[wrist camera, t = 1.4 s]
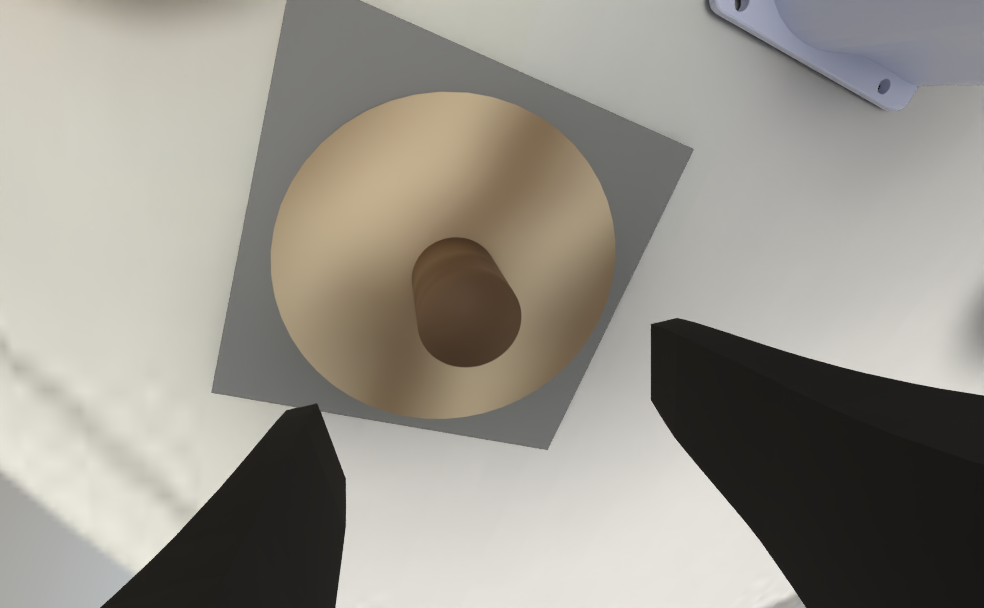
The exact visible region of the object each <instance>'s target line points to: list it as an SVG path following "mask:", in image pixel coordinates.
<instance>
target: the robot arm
mask: <svg viewBox="0 0 984 608" xmlns="http://www.w3.org/2000/svg"><path fill="white" fill-rule="evenodd" d="M709 1H710V7H711V9H712V11H713V12H714V13H716V14H717V15H719V16H721V17H722V18H724V19H726V20H728V21H729V22H731V23H733V24H735V25H736V26H738V27H740V28H742V29H743V30H745V31H747V32H749V33H750V34H752V35H754V36H756V37H757V38H759V39H761V40H763V41H764V42H766V43H768V44H770V45H772V46H773V47H775V48H777V49H779V50H780V51H782V52H784V53H786V54H787V55H789V56H791V57H793V58H794V59H796V60H798V61H800V62H801V63H803V64H805V65H807V66H808V67H810V68H812V69H814V70H815V71H817V72H819V73H821V74H822V75H824V76H826V77H828V78H829V79H831V80H833V81H835V82H836V83H838V84H840V85H842V86H843V87H845V88H847V89H849V90H850V91H852V92H854V93H856V94H857V95H859V96H861V97H863V98H864V99H866V100H868V101H870V102H871V103H873V104H875V105H877V106H878V107H880V108H882V109H884V110H887V111H899V110H901V109H903V108H904V107H905V106H906V105H907V104H908V103H909V101H910V100H911V98H912V96H913V95H914V93H915V91H916V90H917V88H918V87H919V86H929V85H984V0H741V6H740V8H739V10H738V11H737V10H736V9H735V5H734V3H735V0H709ZM879 84H880V88H879V90H878V86H879ZM651 401H652V402H653V404H654V406H655V407H656V409H657V411H658V412H659V414H660V416H661V417H662V419H663V421H664V422H665V424H666V425H667V427H668V428H669V430H670V431H671V433H672V434H673V436H674V437H675V439H676V440H677V441H678V442H679V443H680V445H681V446H682V447H683V448H684V450H685V451H686V452H687V453H688V454H689V456H690V457H691V458H692V459H693V460H694V462H695V463H696V464H697V465H698V466H699V468H700V469H701V470H702V471H703V472H704V474H705V475H706V476H707V477H708V478H709V479H710V481H711V482H712V483H713V484H714V485H715V487H716V488H717V489H718V490H719V491H720V492H721V494H722V495H723V496H724V497H725V498H726V500H727V501H728V502H729V503H730V504H731V505H732V507H733V508H734V509H735V510H736V511H737V513H738V514H739V515H740V516H741V517H742V518H743V520H744V521H745V522H746V523H747V525H748V526H749V527H750V528H751V530H752V531H753V532H754V534H755V535H756V536H757V537H758V539H759V540H760V541H761V543H762V544H763V545H764V547H765V548H766V550H767V551H768V553H769V554H770V555H771V557H772V558H773V560H774V561H775V563H776V564H777V565H778V567H779V568H780V570H781V571H782V573H783V574H784V576H785V577H786V578H787V580H788V581H789V583H790V584H791V586H792V587H793V588H794V590H795V591H796V593H797V594H798V596H799V597H800V599H801V601H802V602H803V604H804V605H805V607H806V608H984V396H983V395H976V394H970V393H964V392H958V391H951V390H945V389H939V388H934V387H929V386H923V385H918V384H913V383H908V382H903V381H899V380H894V379H889V378H885V377H880V376H876V375H871V374H866V373H862V372H858V371H854V370H850V369H846V368H842V367H838V366H835V365H831V364H827V363H824V362H820V361H817V360H813V359H809V358H806V357H802V356H799V355H796V354H792V353H789V352H786V351H782V350H779V349H776V348H773V347H770V346H766V345H763V344H760V343H757V342H754V341H751V340H748V339H745V338H742V337H739V336H736V335H733V334H730V333H727V332H723V331H720V330H717V329H714V328H711V327H708V326H705V325H701V324H698V323H695V322H691V321H687V320H683V319H679V318H675V319H671V320H667V321H663V322H658V323H654V324H651ZM345 527H346V478H345V476H344V473H343V470H342V468H341V465H340V462H339V460H338V457H337V454H336V452H335V449H334V446H333V444H332V441H331V438H330V436H329V433H328V430H327V428H326V425H325V422H324V420H323V417H322V414H321V412H320V409H319V406H318V404H317V403H316V404H312V405H307V406H303V407H299V408H295V409H291V410H286V411H285V413H284V414H283V415H282V416H281V417H280V418H279V419H278V420H277V421H276V422H275V424H274V425H273V426H272V427H271V428H270V430H269V431H268V432H267V433H266V434H265V436H264V437H263V438H262V439H261V440H260V442H259V443H258V444H257V445H256V446H255V448H254V449H253V450H252V451H251V452H250V454H249V455H248V456H247V457H246V458H245V459H244V461H243V462H242V463H241V464H240V465H239V466H238V468H237V469H236V470H235V471H234V472H233V473H232V475H231V476H230V477H229V478H228V479H227V480H226V482H225V483H224V484H223V485H222V486H221V487H220V489H219V490H218V491H217V492H216V493H215V494H214V495H213V496H212V497H211V498H210V499H209V500H208V502H207V503H206V504H205V505H204V506H203V507H202V508H201V509H200V510H199V511H198V512H197V513H196V514H195V516H194V517H193V518H192V519H191V520H190V521H189V522H188V523H187V524H186V525H185V526H184V527H183V529H182V530H181V531H180V532H179V533H178V534H177V535H176V536H175V537H174V538H173V539H172V540H171V541H170V542H169V543H168V544H167V545H166V546H165V547H164V548H163V549H162V550H161V551H160V552H159V553H158V554H157V555H156V556H155V557H154V558H153V559H152V560H151V561H150V562H149V563H148V564H147V565H146V566H145V567H144V568H143V569H142V570H140V571H139V572H138V573H137V574H136V575H135V576H134V577H133V578H132V579H131V580H130V581H129V582H128V583H127V584H126V585H124V586H123V587H122V588H121V589H120V590H119V591H118V592H117V593H116V594H115V595H114V596H113V597H112V598H110V599H109V600H108V601H107V602H106V603H105V604H104V605H103V606H102V607H100V608H335V605H336V598H337V590H338V583H339V575H340V568H341V560H342V552H343V544H344V536H345Z"/></svg>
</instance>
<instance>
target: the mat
mask: <svg viewBox="0 0 984 608" xmlns="http://www.w3.org/2000/svg"><path fill="white" fill-rule="evenodd" d="M432 92H464V93H473V94H478V95H484V96H489V97H494V98H497V99H500V100H503V101H506V102H509V103H512V104H515V105H518V106H520V107H522V108H524V109H526V110H528V111H530V112H531V113H533V114H535V115H537V116H539V117H541V118H542V119H543V120H545V121H546V122H548V123H549V124H551V125H552V126H553V127H555V128H556V129H558V130H559V131H560V132H561V133H562V134H563V135H564V136H565V137H566V138H567V139H568V140H569V141H571V142H572V143H573V144H574V145H575V146H576V148H577V149H578V150H579V151H580V153H581V154H582V155H583V156H584V158H585V159H586V160H587V161H588V163H589V164H590V166H591V168H592V170H593V171H594V173H595V175H596V176H597V178H598V180H599V181H600V184H601V186H602V189H603V191H604V193H605V196H606V198H607V201H608V204H609V208H610V212H611V216H612V220H613V226H614V234H615V267H614V274H613V281H612V285H611V289H610V292H609V296H608V300H607V302H606V305H605V307H604V310H603V312H602V315H601V317H600V319H599V321H598V323H597V325H596V327H595V329H594V330H593V332H592V334H591V336H590V337H589V339H588V340H587V341H586V343H585V344H584V346H583V347H582V348H581V350H580V351H579V352H578V354H577V355H576V356H575V357H574V358H573V359H572V360H571V361H570V363H569V364H568V365H567V366H566V367H565V368H564V369H562V370H561V371H560V372H559V373H558V374H557V375H556V376H555V377H554V378H552V379H551V380H550V381H548V382H547V383H546V384H544V385H543V386H541V387H540V388H539V389H537V390H536V391H534V392H532V393H530V394H529V395H527V396H525V397H523V398H522V399H520V400H518V401H515V402H513V403H511V404H509V405H506V406H504V407H501V408H498V409H495V410H492V411H489V412H486V413H482V414H477V415H472V416H468V417H460V418H450V419H423V418H415V417H407V416H402V415H398V414H394V413H389V412H386V411H383V410H380V409H377V408H375V407H372V406H369V405H367V404H365V403H363V402H361V401H359V400H357V399H355V398H353V397H351V396H349V395H347V394H346V393H344V392H343V391H341V390H340V389H338V388H337V387H335V386H334V385H332V384H331V383H330V382H329V381H328V380H327V379H325V378H324V377H323V376H322V375H321V374H320V373H319V372H317V371H316V369H315V368H314V367H313V366H312V365H311V364H310V363H309V362H308V361H307V359H306V358H305V357H304V356H303V355H302V353H301V352H300V350H299V349H298V347H297V346H296V344H295V343H294V341H293V340H292V338H291V337H290V335H289V332H288V330H287V328H286V326H285V324H284V322H283V320H282V318H281V315H280V312H279V309H278V306H277V303H276V299H275V295H274V289H273V284H272V278H271V246H272V238H273V231H274V226H275V223H276V219H277V216H278V212H279V209H280V205H281V203H282V201H283V199H284V197H285V195H286V192H287V190H288V188H289V186H290V184H291V182H292V180H293V179H294V177H295V176H296V174H297V173H298V171H299V170H300V168H301V167H302V165H303V164H304V162H305V161H306V160H307V159H308V158H309V156H310V155H311V154H312V153H313V152H314V151H315V150H316V149H317V148H318V146H319V145H320V144H321V143H322V142H323V141H324V140H326V139H327V138H328V137H329V136H330V135H332V134H333V133H334V132H335V131H336V130H338V129H339V128H340V127H341V126H342V125H344V124H345V123H347V122H349V121H350V120H352V119H353V118H355V117H357V116H358V115H360V114H362V113H363V112H365V111H367V110H369V109H372V108H374V107H376V106H379V105H381V104H383V103H386V102H388V101H391V100H395V99H399V98H403V97H406V96H410V95H414V94H423V93H432ZM693 150H694V149H692V148H690V147H688V146H686V145H683V144H681V143H679V142H677V141H674V140H672V139H670V138H668V137H665V136H663V135H661V134H659V133H656V132H654V131H652V130H650V129H647V128H645V127H643V126H641V125H638V124H636V123H634V122H632V121H629V120H627V119H625V118H623V117H621V116H618V115H616V114H614V113H612V112H609V111H607V110H605V109H603V108H600V107H598V106H596V105H594V104H591V103H589V102H587V101H585V100H582V99H580V98H578V97H576V96H573V95H571V94H569V93H567V92H564V91H562V90H560V89H558V88H555V87H553V86H551V85H549V84H546V83H544V82H542V81H540V80H537V79H535V78H533V77H531V76H528V75H526V74H524V73H522V72H519V71H517V70H515V69H513V68H510V67H508V66H506V65H504V64H501V63H499V62H497V61H495V60H493V59H490V58H488V57H486V56H484V55H481V54H479V53H477V52H475V51H472V50H470V49H468V48H466V47H463V46H461V45H459V44H457V43H454V42H452V41H450V40H448V39H445V38H443V37H441V36H439V35H436V34H434V33H432V32H430V31H427V30H425V29H423V28H421V27H418V26H416V25H414V24H412V23H409V22H407V21H405V20H403V19H400V18H398V17H396V16H394V15H391V14H389V13H387V12H385V11H382V10H380V9H378V8H376V7H373V6H371V5H369V4H367V3H364V2H362V1H360V0H287V2H286V7H285V12H284V17H283V23H282V28H281V33H280V38H279V43H278V49H277V54H276V59H275V64H274V69H273V75H272V80H271V85H270V90H269V95H268V101H267V106H266V111H265V116H264V121H263V127H262V132H261V137H260V142H259V147H258V153H257V158H256V163H255V168H254V173H253V179H252V184H251V189H250V194H249V199H248V205H247V210H246V215H245V220H244V225H243V231H242V236H241V241H240V246H239V251H238V257H237V262H236V267H235V272H234V277H233V283H232V288H231V293H230V298H229V303H228V309H227V314H226V319H225V324H224V329H223V335H222V340H221V345H220V350H219V355H218V361H217V366H216V371H215V376H214V381H213V387H212V392H211V393H216V394H222V395H228V396H234V397H240V398H246V399H251V400H257V401H263V402H269V403H275V404H281V405H287V406H293V407H298V408H299V407H303V406H307V405H312V404H316V403H317V404H318V406H319V409H320V411H322V412H328V413H334V414H340V415H345V416H351V417H357V418H363V419H369V420H375V421H381V422H387V423H392V424H398V425H404V426H410V427H416V428H422V429H428V430H433V431H439V432H445V433H451V434H457V435H463V436H469V437H475V438H480V439H486V440H492V441H498V442H504V443H510V444H516V445H522V446H527V447H533V448H539V449H545V450H548V448H549V446H550V444H551V441H552V439H553V437H554V435H555V433H556V431H557V429H558V427H559V425H560V423H561V421H562V419H563V417H564V415H565V413H566V411H567V409H568V407H569V405H570V402H571V400H572V398H573V396H574V394H575V392H576V390H577V388H578V386H579V384H580V382H581V380H582V378H583V376H584V374H585V372H586V370H587V368H588V366H589V363H590V361H591V359H592V357H593V355H594V353H595V351H596V349H597V347H598V345H599V343H600V341H601V339H602V337H603V335H604V333H605V331H606V329H607V327H608V324H609V322H610V320H611V318H612V316H613V314H614V312H615V310H616V308H617V306H618V304H619V302H620V300H621V298H622V296H623V294H624V292H625V290H626V288H627V285H628V283H629V281H630V279H631V277H632V275H633V273H634V271H635V269H636V267H637V265H638V263H639V261H640V259H641V257H642V255H643V253H644V251H645V249H646V246H647V244H648V242H649V240H650V238H651V236H652V234H653V232H654V230H655V228H656V226H657V224H658V222H659V220H660V218H661V216H662V214H663V212H664V210H665V207H666V205H667V203H668V201H669V199H670V197H671V195H672V193H673V191H674V189H675V187H676V185H677V183H678V181H679V179H680V177H681V175H682V173H683V171H684V168H685V166H686V164H687V162H688V160H689V158H690V156H691V154H692V152H693Z"/></svg>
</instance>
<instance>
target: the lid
mask: <svg viewBox="0 0 984 608" xmlns="http://www.w3.org/2000/svg"><path fill="white" fill-rule="evenodd" d="M614 267H615V234H614V226H613V220H612V216H611V212H610V208H609V204H608V201H607V198H606V196H605V193H604V191H603V189H602V186H601V184H600V181H599V180H598V178H597V176H596V175H595V173H594V171H593V170H592V168H591V166H590V164H589V163H588V161H587V160H586V159H585V158H584V156H583V155H582V154H581V153H580V151H579V150H578V149H577V148H576V146H575V145H574V144H573V143H572V142H571V141H569V140H568V139H567V138H566V137H565V136H564V135H563V134H562V133H561V132H560V131H559V130H558V129H556V128H555V127H553V126H552V125H551V124H549V123H548V122H546V121H545V120H543V119H542V118H541V117H539V116H537V115H535V114H533V113H531V112H530V111H528V110H526V109H524V108H522V107H520V106H518V105H515V104H512V103H509V102H506V101H503V100H500V99H497V98H494V97H489V96H484V95H478V94H473V93H464V92H432V93H423V94H414V95H410V96H406V97H403V98H399V99H395V100H391V101H388V102H386V103H383V104H381V105H379V106H376V107H374V108H372V109H369V110H367V111H365V112H363V113H362V114H360V115H358V116H357V117H355V118H353V119H352V120H350V121H349V122H347V123H345V124H344V125H342V126H341V127H340V128H339V129H338V130H336V131H335V132H334V133H333V134H332V135H330V136H329V137H328V138H327V139H326V140H324V141H323V142H322V143H321V144H320V145H319V146H318V148H317V149H316V150H315V151H314V152H313V153H312V154H311V155H310V156H309V158H308V159H307V160H306V161H305V162H304V164H303V165H302V167H301V168H300V170H299V171H298V173H297V174H296V176H295V177H294V179H293V180H292V182H291V184H290V186H289V188H288V190H287V192H286V195H285V197H284V199H283V201H282V203H281V205H280V209H279V212H278V216H277V219H276V223H275V226H274V231H273V238H272V246H271V278H272V284H273V289H274V295H275V299H276V303H277V306H278V309H279V312H280V315H281V318H282V320H283V322H284V324H285V326H286V328H287V330H288V332H289V335H290V337H291V338H292V340H293V341H294V343H295V344H296V346H297V347H298V349H299V350H300V352H301V353H302V355H303V356H304V357H305V358H306V359H307V361H308V362H309V363H310V364H311V365H312V366H313V367H314V368H315V369H316V371H317V372H319V373H320V374H321V375H322V376H323V377H324V378H325V379H327V380H328V381H329V382H330V383H331V384H332V385H334V386H335V387H337V388H338V389H340V390H341V391H343V392H344V393H346V394H347V395H349V396H351V397H353V398H355V399H357V400H359V401H361V402H363V403H365V404H367V405H369V406H372V407H375V408H377V409H380V410H383V411H386V412H389V413H394V414H398V415H402V416H407V417H415V418H423V419H450V418H460V417H468V416H472V415H477V414H482V413H486V412H489V411H492V410H495V409H498V408H501V407H504V406H506V405H509V404H511V403H513V402H515V401H518V400H520V399H522V398H523V397H525V396H527V395H529V394H530V393H532V392H534V391H536V390H537V389H539V388H540V387H541V386H543V385H544V384H546V383H547V382H548V381H550V380H551V379H552V378H554V377H555V376H556V375H557V374H558V373H559V372H560V371H561V370H562V369H564V368H565V367H566V366H567V365H568V364H569V363H570V361H571V360H572V359H573V358H574V357H575V356H576V355H577V354H578V352H579V351H580V350H581V348H582V347H583V346H584V344H585V343H586V341H587V340H588V339H589V337H590V336H591V334H592V332H593V330H594V329H595V327H596V325H597V323H598V321H599V319H600V317H601V315H602V312H603V310H604V307H605V305H606V302H607V300H608V296H609V292H610V289H611V285H612V281H613V274H614Z"/></svg>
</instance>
